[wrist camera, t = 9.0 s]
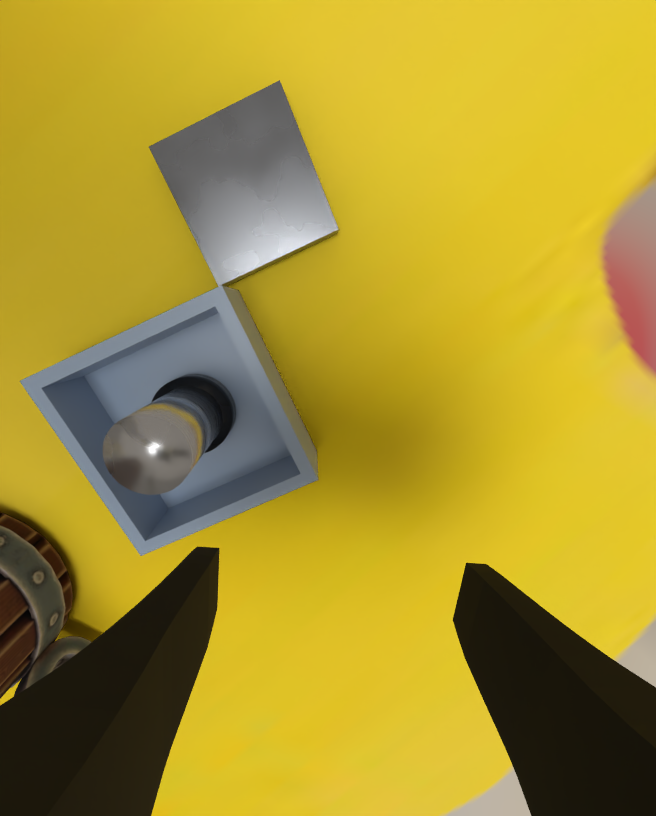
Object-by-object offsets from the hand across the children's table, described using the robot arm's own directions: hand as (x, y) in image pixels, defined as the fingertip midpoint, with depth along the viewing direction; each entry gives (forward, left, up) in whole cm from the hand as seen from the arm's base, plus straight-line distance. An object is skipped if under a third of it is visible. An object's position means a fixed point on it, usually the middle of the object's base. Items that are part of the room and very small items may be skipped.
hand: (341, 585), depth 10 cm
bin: (-5, -5, -10) cm, 12 cm away
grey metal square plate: (-13, +2, -10) cm, 17 cm away
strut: (-5, -5, -9) cm, 12 cm away
